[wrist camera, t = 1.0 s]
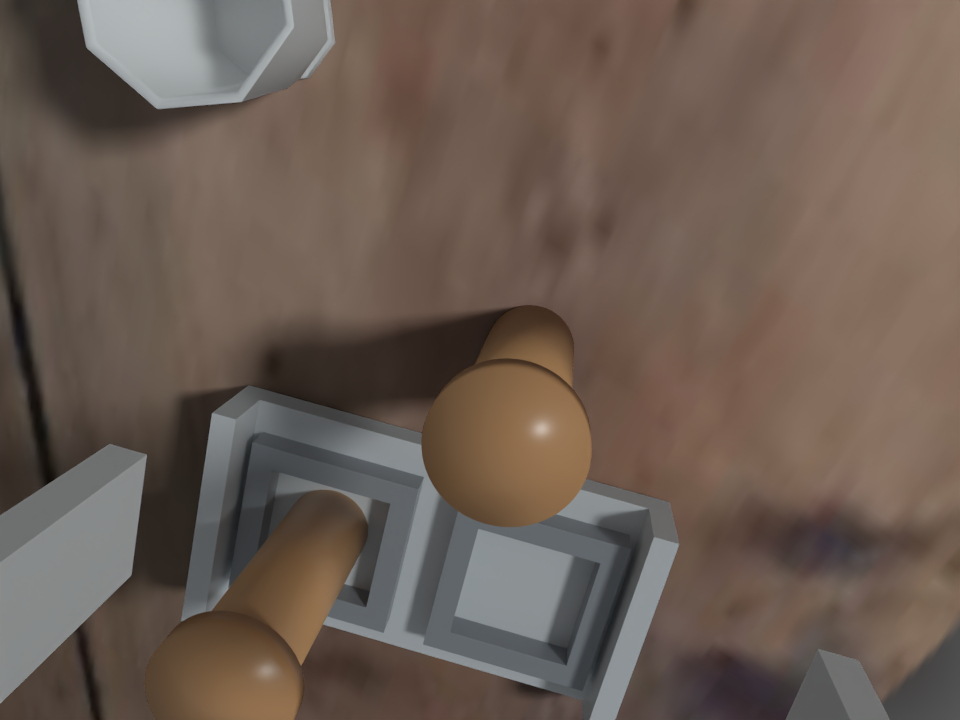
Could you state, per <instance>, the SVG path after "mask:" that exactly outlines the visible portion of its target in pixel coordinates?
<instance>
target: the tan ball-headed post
mask: <svg viewBox="0 0 960 720" xmlns="http://www.w3.org/2000/svg"><path fill="white" fill-rule="evenodd" d="M573 358H574V343H573V337H572V334H571V332H570V330H569V328H568V326H567V325H566V323H565V322H564V321H563V320H562V318H560V317H559V316H558V315H557V314H556V313H554V312H552V311H551V310H549V309H546V308H543V307H540V306H532V305H527V306H520V307H516V308H513V309H511V310H509V311H507V312H506V313H504V314H503V315H502V316H501V317H499V318H498V320H497V321H496V322H495V323H494V325H493V326H492V328H491V330H490V332H489V335H488V337H487V339H486V341H485V343H484V345H483V347H482V350H481V352H480V354H479V356H478V358H477V360H476V362H475V364H474V365H472V366H470V367H468V368H466V369H464V370H463V371H461V372H460V373H458V374H457V375H456V376H454V377H453V378H452V379H451V380H450V381H449V382H448V383H447V384H446V385H445V386H444V387H443V389H442V390H441V392H440V393H439V395H438V396H437V398H436V400H435V401H434V403H433V405H432V407H431V409H430V411H429V413H428V415H427V417H426V420H425V423H424V426H423V432H422V439H421V449H422V458H423V462H424V466H425V469H426V472H427V474H428V477H429V479H430V480H431V482H432V484H433V486H434V487H435V489H436V490H437V491H438V493H439V494H440V495H441V496H442V498H443V499H444V500H445V501H446V502H447V503H448V504H450V505H451V506H452V507H453V508H454V509H456V510H457V511H459V512H460V513H462V514H463V515H465V516H467V517H469V518H471V519H473V520H475V521H478V522H481V523H484V524H488V525H493V526H499V527H521V526H528V525H531V524H535V523H539V522H541V521H544V520H546V519H548V518H550V517H552V516H554V515H555V514H557V513H559V512H560V511H561V510H563V509H564V508H565V507H566V506H567V505H568V504H569V503H570V502H571V501H572V500H573V499H574V498H575V497H576V495H577V494H578V493H579V491H580V489H581V488H582V486H583V484H584V482H585V480H586V477H587V475H588V472H589V467H590V463H591V429H590V424H589V419H588V416H587V413H586V410H585V408H584V406H583V404H582V402H581V400H580V398H579V397H578V395H577V394H576V392H575V391H574V390H573V389H572V382H573Z"/></svg>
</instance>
